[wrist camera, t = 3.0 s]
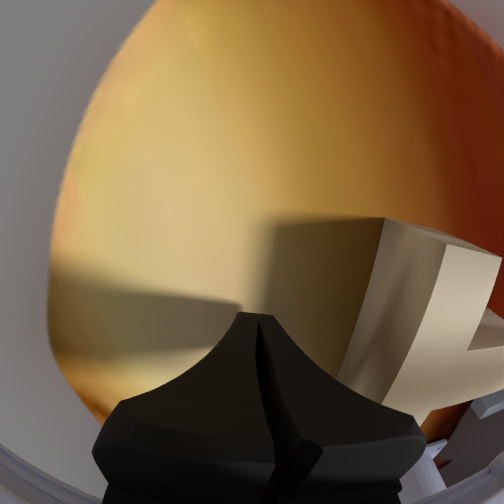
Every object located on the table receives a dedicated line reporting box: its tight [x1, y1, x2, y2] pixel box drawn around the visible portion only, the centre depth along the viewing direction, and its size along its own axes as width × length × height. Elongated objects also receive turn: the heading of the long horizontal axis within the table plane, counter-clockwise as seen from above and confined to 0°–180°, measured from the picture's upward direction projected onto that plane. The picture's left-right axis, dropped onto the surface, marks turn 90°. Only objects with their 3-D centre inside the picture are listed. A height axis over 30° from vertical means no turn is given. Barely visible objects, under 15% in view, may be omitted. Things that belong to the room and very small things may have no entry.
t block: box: [335, 218, 504, 427], centre depth 10 cm, size 10×9×4 cm
